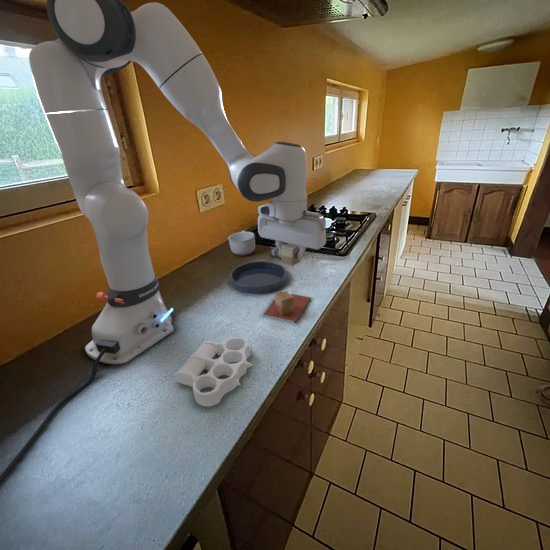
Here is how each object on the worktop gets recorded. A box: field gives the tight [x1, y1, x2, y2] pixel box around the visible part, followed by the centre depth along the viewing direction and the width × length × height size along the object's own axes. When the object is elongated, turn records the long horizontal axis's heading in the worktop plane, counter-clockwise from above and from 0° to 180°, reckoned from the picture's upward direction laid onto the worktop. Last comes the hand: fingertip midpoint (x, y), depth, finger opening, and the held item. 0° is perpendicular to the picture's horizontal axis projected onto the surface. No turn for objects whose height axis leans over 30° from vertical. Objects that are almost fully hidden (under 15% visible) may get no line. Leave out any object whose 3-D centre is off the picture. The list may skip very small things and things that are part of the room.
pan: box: [229, 260, 288, 295], centre depth 105 cm, size 19×19×3 cm
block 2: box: [274, 290, 294, 315], centre depth 87 cm, size 4×4×5 cm
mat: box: [263, 291, 311, 324], centre depth 90 cm, size 13×10×1 cm
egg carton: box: [269, 243, 286, 258], centre depth 123 cm, size 11×8×4 cm
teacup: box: [227, 230, 256, 257], centre depth 127 cm, size 14×11×8 cm
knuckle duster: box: [173, 337, 254, 408], centre depth 67 cm, size 3×18×15 cm
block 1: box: [280, 243, 302, 267], centre depth 85 cm, size 4×4×5 cm
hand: (291, 256), depth 86 cm, fingers closed on block 1, 4 cm apart
